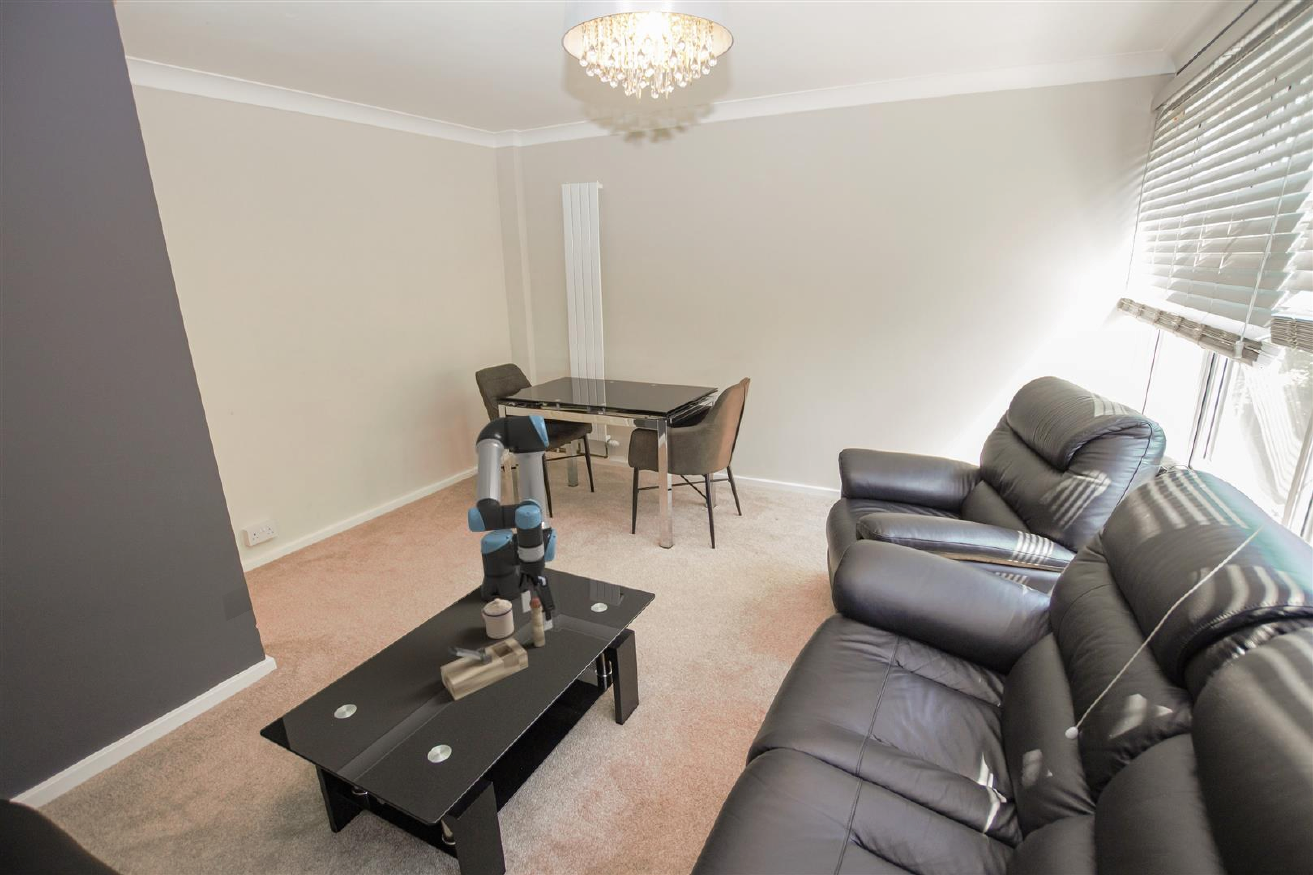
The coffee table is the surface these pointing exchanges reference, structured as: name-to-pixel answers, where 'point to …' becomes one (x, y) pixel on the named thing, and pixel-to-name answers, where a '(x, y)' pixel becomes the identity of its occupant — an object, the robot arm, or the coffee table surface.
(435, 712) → the coffee table surface
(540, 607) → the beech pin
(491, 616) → the teacup with lid
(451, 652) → the lever
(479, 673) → the block
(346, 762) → the coffee table surface
